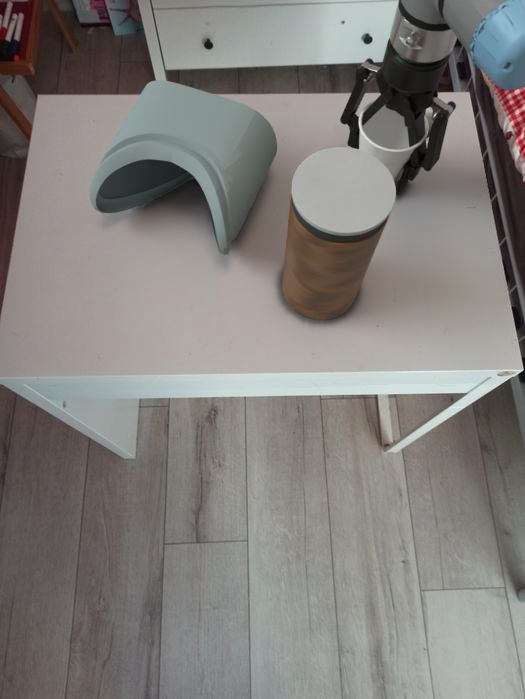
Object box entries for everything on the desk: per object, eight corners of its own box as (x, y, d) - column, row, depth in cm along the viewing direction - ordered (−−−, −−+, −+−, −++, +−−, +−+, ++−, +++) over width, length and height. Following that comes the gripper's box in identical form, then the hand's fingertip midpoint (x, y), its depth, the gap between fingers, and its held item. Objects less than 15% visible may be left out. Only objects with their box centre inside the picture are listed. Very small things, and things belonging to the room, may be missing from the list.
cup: (340, 194, 78) (353, 143, 67) (351, 146, 81) (365, 91, 71) (402, 207, 77) (424, 157, 66) (410, 158, 80) (433, 103, 70)
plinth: (370, 279, 72) (409, 193, 54) (329, 334, 69) (355, 263, 51) (310, 241, 75) (327, 145, 56) (267, 292, 72) (270, 209, 53)
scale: (409, 193, 54) (415, 179, 51) (355, 263, 51) (359, 251, 48) (327, 145, 56) (330, 130, 54) (270, 209, 53) (270, 196, 51)
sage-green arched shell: (276, 176, 79) (278, 113, 67) (231, 273, 73) (225, 222, 61) (153, 137, 81) (134, 69, 69) (100, 227, 75) (69, 170, 63)
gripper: (328, 23, 58) (310, 158, 80) (484, 104, 54) (421, 224, 75) (362, -11, 60) (335, 129, 82) (515, 65, 56) (445, 192, 77)
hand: (376, 174), depth 79 cm, fingers closed on cup, 8 cm apart
